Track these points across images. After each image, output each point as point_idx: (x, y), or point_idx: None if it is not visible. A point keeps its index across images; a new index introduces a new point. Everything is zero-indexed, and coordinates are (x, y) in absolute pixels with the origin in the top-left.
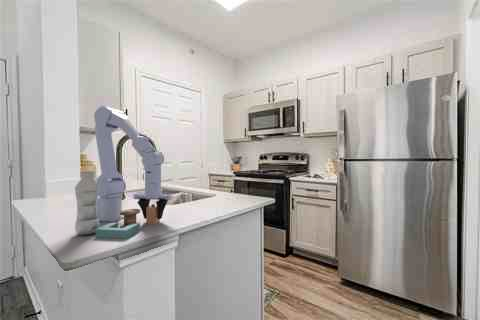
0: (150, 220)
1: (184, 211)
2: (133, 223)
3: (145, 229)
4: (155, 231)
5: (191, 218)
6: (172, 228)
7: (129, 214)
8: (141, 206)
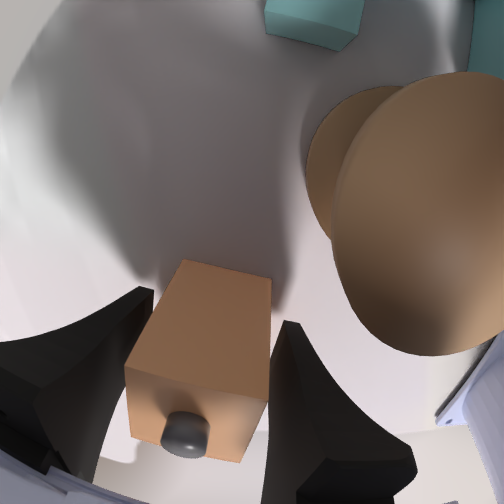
0: (225, 284)
1: (115, 456)
2: (337, 28)
3: (217, 79)
4: (113, 31)
5: (10, 336)
6: (19, 119)
7: (451, 74)
8: (343, 413)
